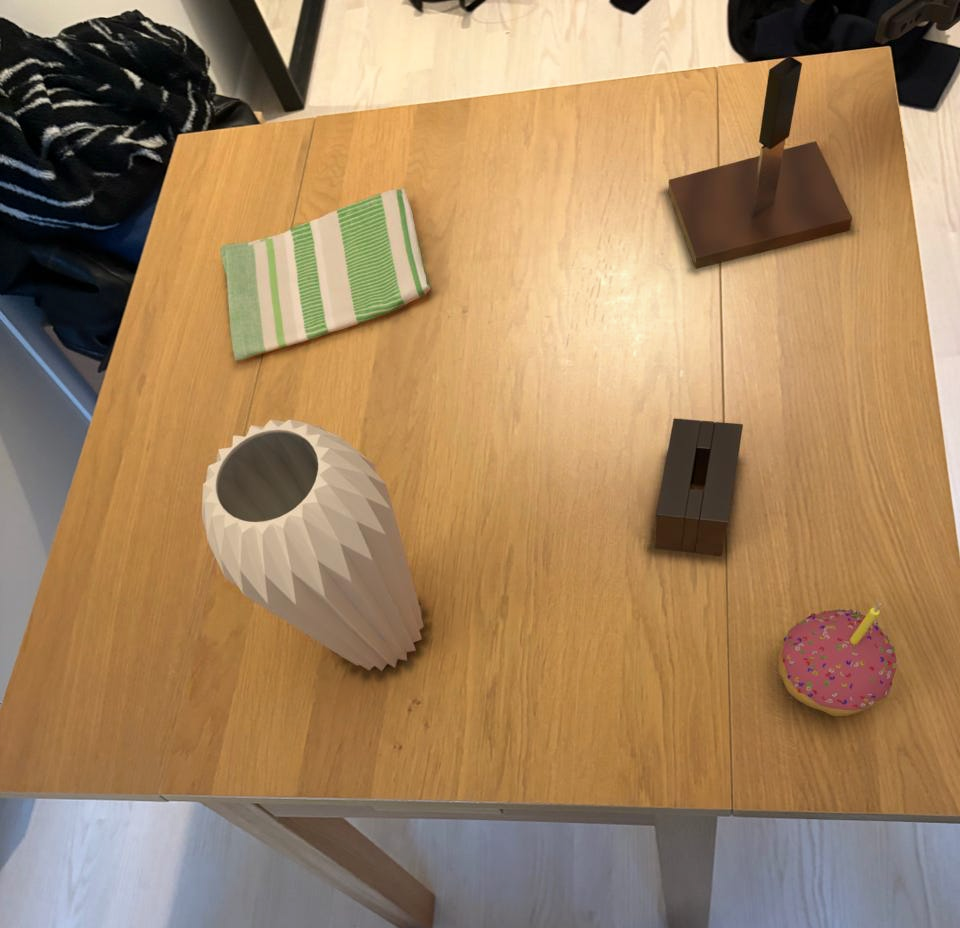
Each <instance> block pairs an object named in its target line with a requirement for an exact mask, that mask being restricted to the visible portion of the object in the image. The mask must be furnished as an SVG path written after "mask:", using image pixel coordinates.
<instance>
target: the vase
mask: <svg viewBox="0 0 960 928" xmlns="http://www.w3.org/2000/svg"><path fill="white" fill-rule="evenodd" d="M201 498H202V499H201V501H202V502H201V521H202V524H203V527H204V530H205V532H206V538H207V539H206V541H207V543H208V545H209V547H210V550H211V552H212V554H213V555H214V558H215V560H216V562H217V564H218V566H219V568H220V571H221V572H222V574H223V577H224V579H225V580H227V581H229V582H230V583H232V584H233V585H235V586H236V587H238V589H239V590H240V592H241V593H242V595H243V596H245V597H246V598H248V599H250V600H251V601H252V602H254V603H256V604H257V605H259V607H260V606H261V608H263V609H265V610H267V611H268V612H270V613H271V614H273V615H274V616H276V617H278V618H280V619H281V620H282V621H284V622H286V623H288V624H289V625H290V626H292V627H294V628H295V629H297V630H299V631H300V632H302V633H303V634H305V635H306V636H308V637H310V638H312V639H313V640H314V641H316V642H317V643H320V644H321V645H323V646H324V647H326V648H327V649H329V650H331V651H332V652H334V653H336V654H337V655H338V656H340V657H342V658H344V659H345V660H347V661H348V662H350V663H352V664H353V665H355V666H357V667H358V666H361V667H362V668H364V669H366V670H367V671H371V670H372V669H373V668H374V667H375V668H377V669H378V670H379V671H381V672H383V671H384V669H385V668H386V666H387V665H389V666H391V667H393V668H395V669H396V666H397V663H398V660H401V661H404V662H405V661H406V662H407V661H408V653H410V652H416V651H417V648H416V647H415V644H414V643H416V642H418V641H421V640H422V639H423V638H422V633H421V632H420V630H422V629H423V628H424V627H425V626H424V621H423V618H422V615H423V614H422V610H421V606H420V602H419V599H418V595H417V592H416V587H415V583H414V580H413V576H412V572H411V569H410V566H409V562H408V558H407V554H406V550H405V547H404V543H403V540H402V536H401V533H400V529H399V525H398V522H397V518H396V513H395V510H394V507H393V504H392V499H391V496H390V493H389V489H388V485H387V483H386V482H385V481H384V480H383V479H382V478H381V477H380V476H379V475H378V473H377V469H376V467H375V464H374V463H373V462H372V461H370V460H369V459H368V458H367V457H366V456H365V455H364V454H363V453H361V452H360V451H359V450H358V449H357V448H356V447H354V445H352V444H351V443H350V442H349V441H348V440H347V439H345V437H342V436H340V435H337V434H335V433H332V432H329V431H328V430H327V429H326V428H324V427H322V426H318V425H314V424H312V423H307V422H303V421H299V420H296V419H291V418H290V419H288V420H286V421H282V420H277V419H270V420H269V421H268V422H267V423H266V424H265V425H264V426H261V425H254V424H251V425H250V426H249V429H248V432H246V436H245V435H243V436H242V435H233V436H232V441H231V445H230V446H229V447H223V448H219V449H217V455H216V462H214V463H212V464H210V465H208V466H207V470H206V479H205V482H203V484H202V497H201Z"/></svg>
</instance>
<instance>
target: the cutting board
mask: <svg viewBox="0 0 960 928" xmlns="http://www.w3.org/2000/svg"><path fill="white" fill-rule="evenodd" d="M759 157H760V155H757V156H754V157H749V158H746V159H742V160H739V161H735V162H731V163H727V164H723V165H719V166H715V167H711V168H708V169H704V170H701V171H700V170H699V171H697V172H693V173H688V174H686V175H681V176H677V177H674V178H669V179H668V190H667V192H668V195H669V198H670V201H671V203H672V206H673V208H674V212H675V215H676V217H677V221H678V223H679V226H680V230H681V233H682V234H683V237H684V240H685V243H686V246H687V249H688V252H689V255H690V258H691V260H692V263H693V266H694V268H695V269H699V268H704V267H708V266H711V265H715V264H719V263H723V262H727V261H731V260H736V259H740V258H743V257H744V258H745V257H747V256H751V255H755V254H759V253H763V252H767V251H770V250H776V249H779V248H782V247H787V246H792V245H795V244H799V243H804V242H808V241H811V240H816V239H819V238H823V237H826V236H830V235H835V234H840V233H843V232H848V231H850V228H851V225H852V222H853V216H852V214H851V213H850V210H849V208H848V206H847V203H846V201H845V199H844V197H843V195H842V193H841V191H840V189H839V187H838V185H837V183H836V180H835V178H834V176H833V173H832V172H831V170H830V167H829V165H828V163H827V161H826V159H825V157H824V155H823V152H822V149H821V148H820V146H819V144H818V141H816V140H815V141H811V142H807V143H804V144H799V145H795V146H791V147H788V148H784V151H783V156H782V162H781V168H780V173H779V179H778V185H777V190H776V196H775V202H774V204H772V205H771V206H770V207H768V208H767V209H765V210H764V211H763V212H761V213H760V214H758V215H757V216H756V217H754V218H753V219H752V218H751V211H752V204H753V198H754V191H755V184H756V177H757V171H758V164H759Z"/></svg>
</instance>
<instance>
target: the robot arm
mask: <svg viewBox="0 0 960 928" xmlns="http://www.w3.org/2000/svg"><path fill="white" fill-rule="evenodd" d="M815 1H816V0H800V2H801V3H804V4H806V5H807V6H808V5H810V4H813V2H815ZM929 23H936V24H935V29H936V30H938V31H940V32H945V31H948V30H950V29H952V28H953V27H954V26H956V25H957V24H958V23H960V0H901V1H900V2H898V3H897V4H895V5H894V6H891V8H889V9H888V10H886V11H885V12H884V13H883V14H882V15H881V16H880V19H879V21H878V25H877V29H876V32H875V36H874V41H875V42H877V43H878V44H881V45H885V44H886V43H888V42H889V41H894V40H898V39H899V38H901V37H903V35H905V34H906V33H908V32H910V31H911V30H913V28H916V26H917V27H924V26H926V25H927V24H929Z"/></svg>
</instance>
